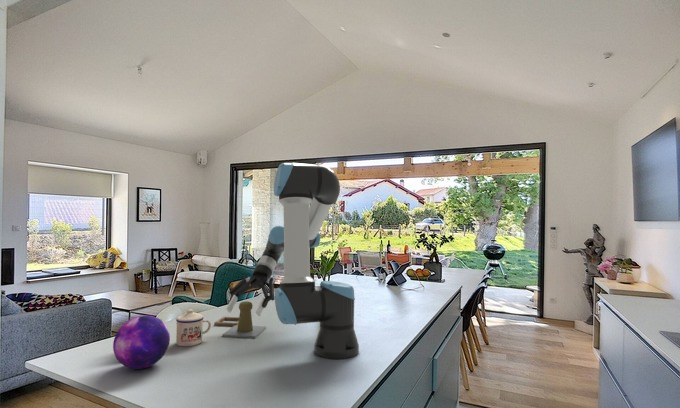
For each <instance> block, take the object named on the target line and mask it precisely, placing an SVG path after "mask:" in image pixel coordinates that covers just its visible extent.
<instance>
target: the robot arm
mask: <svg viewBox="0 0 680 408" xmlns="http://www.w3.org/2000/svg"><path fill="white" fill-rule="evenodd" d="M340 191H341V185H340V180H339V178H338V176H337V175H336V173H335V172H334V170H332V169H331V168H330V167H329V166H326V165H323V164H314V163H313V164H312V163H300V162H282V163H280V164H279V165H278V167H277V169H276V172H275V177H274V183H273V195H274V196H275V197H278V202H279V203H280V204H281V205H282V206H283V225H275V226H274V227H272V228H271V229H270V231H269V233H268V237H267V242H266V245H265V248H264V251H263V253H262V255H261V257H259V261H258V262H257V264H256V266H255V267H254V269H253V272H252V275H251V276H248V275H246V274H245V275H244V277H243V278H242V279H241V280H240V281H238V283H237V284H235V285H234V287H233V288H232V289H230V290H229V292H228V293H229V294H230V298H229V300H228V304H227V306H226V308H225V309H226V311H227V312H228V313H230V314H231V313H232V311H233V309H234V308H235V305H236V303H237V301H238V300H239V299H238V297H239V296H240V297H241V295H242V294H244V293H246V292H247V291H249V290H251V289H261V290H262V293H263V295H264V297H262V298H261V299H260V302H259V305H258V307H257V309H256V310H255V313H256V314H257V316H258V317H261V315H262V313H263V310H264V309H266V308H267V305H268V303H269V302H270V301H272V302H273V301H274V304H275V311H276V313H277V314H276V315H277V317H278V320H279V321H280V323H282V324H283V325H295V326H296V325H297V324H299V325H300V324H311V323H312V324H313V323H319V330H318V333H317V335H316V339H315V341H314V344H313V346H314V347H313V348H314V349H313V350H314V353H315V355H316V356H319V357H321V358H326V359H332V360H342V359H343V360H344V359H349V358H352V357H355V356H357V355H358V354H359V352H360V346H359V340H358V338H357V334H356V331H355V299H356V298H355V288H354V287H353V286H352V285H351V284H348V283H345V282H339V281H332V280H323V281H320V283H319V286H318V285H317V286H316V281H315V279H314V278H312V276H311V261H310V260H311V259H310V258H311V255H310V253H311V252H310V250H311V249H312V248H318V247H319V246H320V242H321V234H320V230H321V228H322V226H323V224H324V221H325V219H326V218H327V215H328V213H329V211H330V209H331V207H332V205H334V204H335V203H336V202H337V200H338V198H339V197H340V196H339V195H340ZM282 254H283V260H284V261H283V262H284V263H283V265H284V266H283V267H284V269H283V271H284V273H283V274H284V277H283V278H282V280H281V281H279V287H277V288H275V283H276V281H275V279H274V278H273V272H274V271H275V268H276V266H277V265H278V262H279V261H280V258H281V256H282ZM267 284H268V290H267V288H266V285H267ZM268 291H269V292H268ZM268 293H269V294H268Z"/></svg>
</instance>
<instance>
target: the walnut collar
mask: <svg viewBox="0 0 680 408" xmlns="http://www.w3.org/2000/svg"><path fill="white" fill-rule="evenodd" d="M224 321H225V322H224ZM226 321H232V322H226ZM233 321H236V322H233ZM238 322H239V317H237V316H236V317H235V316H223V317H221V318H219V319H217V320H216V321H215V322H214V325H213V326H214V327H215V326H218V327H233V326H235V325H238Z"/></svg>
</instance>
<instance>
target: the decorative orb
mask: <svg viewBox="0 0 680 408" xmlns="http://www.w3.org/2000/svg"><path fill="white" fill-rule="evenodd" d="M160 319H161V318H159V317H156V316H153V315H146V314H145V315H138V316H135V317H133V318H130V319H129V320H128V321H126V322H124V323H123V324H122V325H121V326H120V327H119V329H118V331H116V333H115V335H114V338H113V344H112V350H113V354H114V356H115V358H116V360H117V361H118V362H119V363H120V364H121V365H123V366H124V367H125V368H128V369H135V370H142V369H146V368H149V367H151V366H154V365H155V364H156V363H158V362H159V361H160V360H161V359H162V358H163V357H164V356H165V354H167V353H166V352H167V350H168V349H169V346H170V340H171V339H170V338H171V336H170V330H169V329H168V327H167V324H166V323H165V322H164V321H163V320H162V321H161V320H160Z"/></svg>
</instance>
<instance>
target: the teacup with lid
mask: <svg viewBox="0 0 680 408" xmlns="http://www.w3.org/2000/svg"><path fill="white" fill-rule="evenodd" d="M186 311H187V312H185V313H183V314H181V315H179V316H177V317H176V319H175V321H176V334H175V335H176V336H175V339H176V340H175V341H176V342H175V344H176V345H177V346H179V347H193V346H197V345H199V344H201V343H202V342H203V335H205V334H207V333H209V332H210V329H211V328H212V323H211V321H210V320H208V319H204V315H202V314H200V313H197V312H194V310H193V308H192V309H187V310H186ZM203 323H208V326H207V329H205V330H204V331H203V326H204V325H203Z"/></svg>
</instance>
